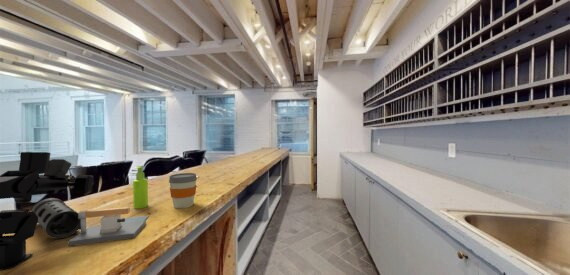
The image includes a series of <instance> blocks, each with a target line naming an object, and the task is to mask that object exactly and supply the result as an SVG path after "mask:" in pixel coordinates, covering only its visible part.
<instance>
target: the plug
mask: <svg viewBox="0 0 570 275" xmlns="http://www.w3.org/2000/svg"><path fill="white" fill-rule="evenodd" d="M121 216H122V214H121V215H110V216H101V217H100V225H101V229H100V232H101V233H109V232H116V231H118V230H119V229H120V228H121V225H122V222H125V219H126V218H124V217H123V218H121Z"/></svg>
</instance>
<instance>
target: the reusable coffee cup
mask: <svg viewBox="0 0 570 275" xmlns="http://www.w3.org/2000/svg"><path fill="white" fill-rule="evenodd" d="M168 177H169V179H168V183H169V186H170V187H169V191H170V192H169V193H170V198H172V206H173V208H174V209H175V208H176V209H185V208H189V207H192V206H193V205H194V201H195V195H196V193H197V192H196V191H197V180H198V177H197V173H194V172H185V173H175V174H171V175H169V176H168Z"/></svg>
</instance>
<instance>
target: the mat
mask: <svg viewBox="0 0 570 275" xmlns="http://www.w3.org/2000/svg"><path fill="white" fill-rule="evenodd" d="M148 218H149V215H143V216H132V217H131V216H130V217H126V218H125V222H135V221H144V220H147V219H148ZM125 222H121V223H125Z"/></svg>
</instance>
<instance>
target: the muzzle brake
mask: <svg viewBox="0 0 570 275" xmlns="http://www.w3.org/2000/svg"><path fill="white" fill-rule="evenodd" d="M30 211H34V212H35V214H36V215H37V217H38V223H37V225H39V226H40V228H42V230H44V232H45V234H46V235H47V236H49V237H50V238H53V239H57V240H59V239H65V238H68V237H70V236H72V235H74V234H75V233H77V232H78V231H79V230H80V231H81V219H78V212H77V211H76V210H74V209H73V208H71V207H70V206H69V205H67V204H66V203H65V202H64V201H63V200H61V199H59V198H55V197H50V198H49V197H48V198H45V199H42V200H40V201H38V202H37V203H36V204H34V206H33V207H32V208H31V210H30Z"/></svg>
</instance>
